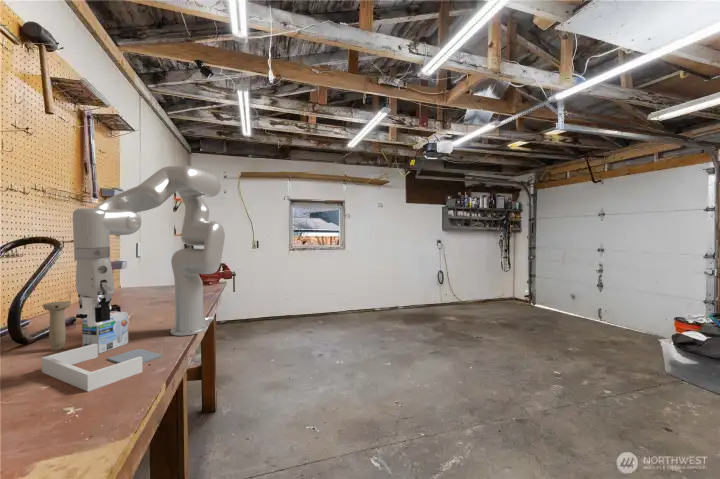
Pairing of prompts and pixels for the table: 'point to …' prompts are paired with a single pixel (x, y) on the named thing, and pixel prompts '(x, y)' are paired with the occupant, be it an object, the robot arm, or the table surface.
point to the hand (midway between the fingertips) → (95, 318)
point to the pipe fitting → (89, 310)
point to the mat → (133, 354)
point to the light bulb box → (107, 332)
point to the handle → (57, 324)
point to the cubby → (81, 378)
